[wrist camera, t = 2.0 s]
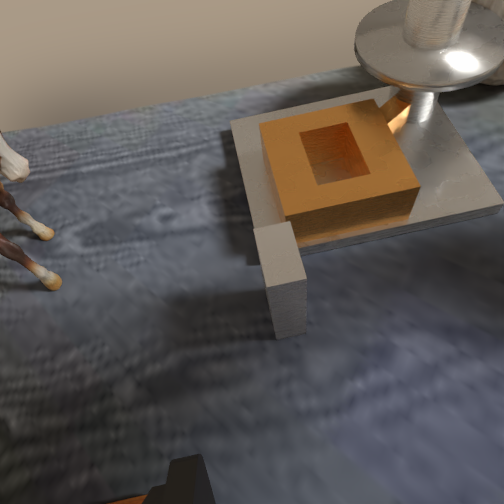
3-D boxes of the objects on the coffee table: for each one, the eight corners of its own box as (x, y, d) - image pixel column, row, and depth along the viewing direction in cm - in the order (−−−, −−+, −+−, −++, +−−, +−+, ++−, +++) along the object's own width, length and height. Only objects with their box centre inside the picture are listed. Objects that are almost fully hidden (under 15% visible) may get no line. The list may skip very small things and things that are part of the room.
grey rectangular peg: (293, 286, 35) (290, 220, 26) (306, 333, 33) (306, 278, 24) (265, 292, 35) (253, 228, 26) (276, 340, 33) (266, 287, 24)
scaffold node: (439, 70, 47) (492, -93, 34) (535, 205, 36) (667, 42, 23) (228, 116, 47) (198, -29, 34) (262, 264, 36) (238, 136, 23)
